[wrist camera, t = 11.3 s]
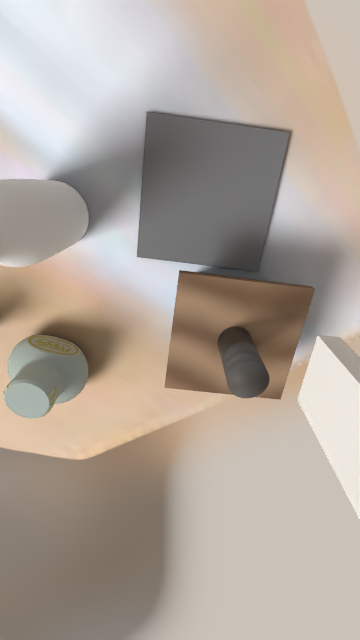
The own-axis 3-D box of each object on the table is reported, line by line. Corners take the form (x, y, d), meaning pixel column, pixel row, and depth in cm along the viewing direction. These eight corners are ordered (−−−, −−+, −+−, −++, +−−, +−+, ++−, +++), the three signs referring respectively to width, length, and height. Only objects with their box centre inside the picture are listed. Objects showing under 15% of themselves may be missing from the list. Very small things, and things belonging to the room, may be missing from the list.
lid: (179, 270, 34) (179, 297, 26) (311, 286, 35) (351, 317, 27) (165, 382, 40) (161, 434, 32) (278, 394, 41) (302, 447, 33)
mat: (147, 112, 34) (147, 111, 34) (288, 133, 35) (289, 132, 35) (137, 256, 41) (136, 256, 40) (257, 270, 42) (257, 271, 41)
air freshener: (98, 346, 46) (78, 386, 37) (86, 389, 49) (65, 436, 40) (23, 324, 45) (-16, 360, 35) (16, 370, 48) (-23, 415, 39)
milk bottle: (69, 168, 37) (-41, 152, 18) (101, 230, 39) (34, 270, 21) (14, 197, 38) (-140, 208, 19) (50, 255, 41) (-56, 313, 22)
